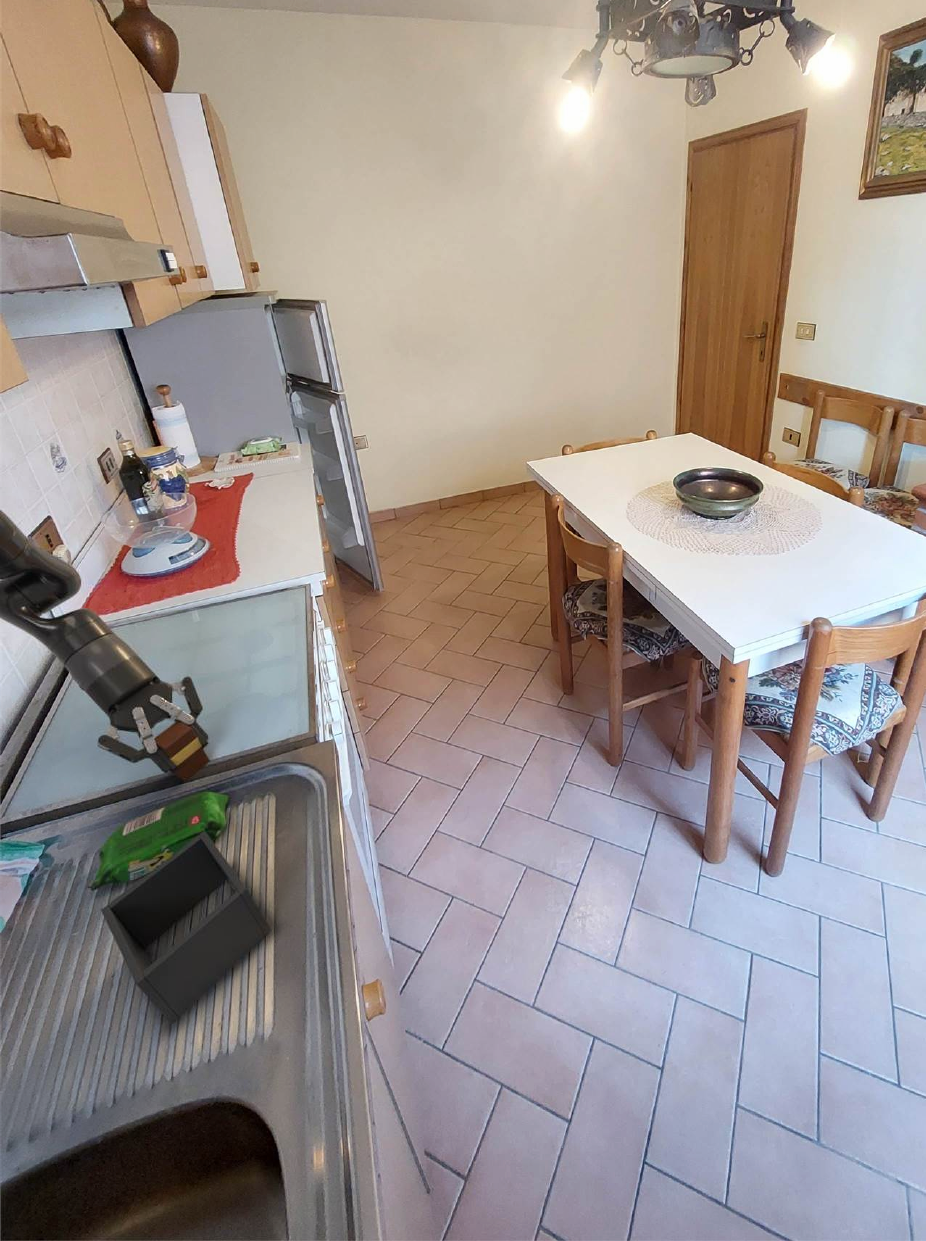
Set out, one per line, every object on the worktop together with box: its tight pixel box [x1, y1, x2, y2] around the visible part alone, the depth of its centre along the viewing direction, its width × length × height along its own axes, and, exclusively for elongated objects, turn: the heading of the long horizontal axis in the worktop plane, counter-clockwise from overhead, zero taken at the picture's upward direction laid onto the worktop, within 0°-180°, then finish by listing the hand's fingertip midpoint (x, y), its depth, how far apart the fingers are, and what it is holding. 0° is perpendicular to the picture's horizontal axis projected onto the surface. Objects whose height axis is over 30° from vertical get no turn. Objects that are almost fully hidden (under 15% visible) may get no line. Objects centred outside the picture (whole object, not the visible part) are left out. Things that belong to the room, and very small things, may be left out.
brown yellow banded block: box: [153, 720, 211, 783], centre depth 86 cm, size 4×4×8 cm
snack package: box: [87, 791, 229, 892], centre depth 76 cm, size 7×16×5 cm, turn 118°
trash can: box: [100, 831, 272, 1025], centre depth 64 cm, size 11×11×10 cm
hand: (190, 757), depth 85 cm, fingers closed on brown yellow banded block, 4 cm apart
